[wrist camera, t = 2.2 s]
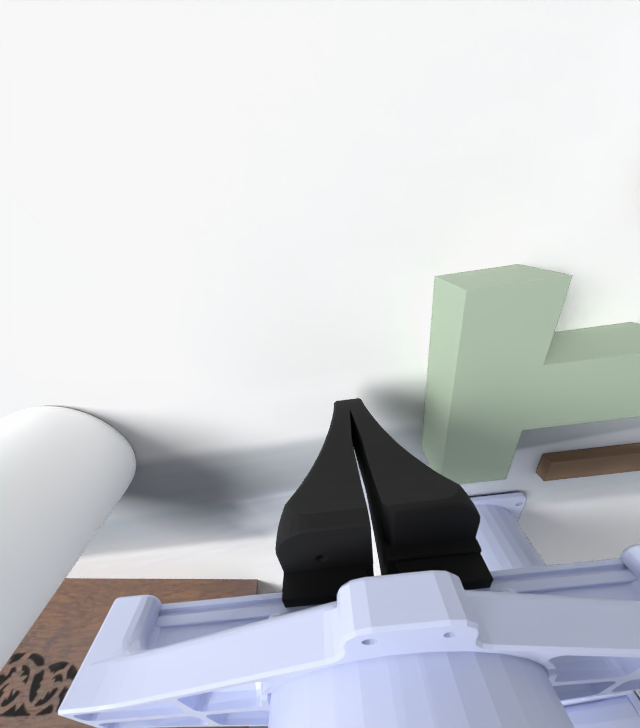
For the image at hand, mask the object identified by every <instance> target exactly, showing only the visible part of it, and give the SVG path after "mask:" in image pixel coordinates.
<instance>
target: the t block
mask: <svg viewBox="0 0 640 728" xmlns="http://www.w3.org/2000/svg"><path fill="white" fill-rule="evenodd" d="M572 276H573V275H569V274H564V273H559V272H554V271H549V270H544V269H539V268H534V267H529V266H524V265H519V264H516V265H509V266H502V267H495V268H488V269H481V270H474V271H468V272H461V273H454V274H447V275H440V276H435V279H434V292H433V305H432V318H431V331H430V344H429V357H428V370H427V384H426V397H425V410H424V423H423V436H422V451H423V453H424V455H425V457H426V459H427V461H428V463H429V465H430V467H431V469H433V470H434V471H436V472H437V473H439V474H441V475H443V476H445V477H446V478H448V479H450V480H452V481H454V482H456V483H457V484H466V483H475V482H484V481H493V480H502V479H506V478H507V475H508V472H509V469H510V466H511V463H512V460H513V457H514V453H515V450H516V447H517V444H518V441H519V438H520V435H521V432H522V430H528V429H537V428H545V427H554V426H562V425H571V424H579V423H588V422H596V421H605V420H613V419H622V418H630V417H639V416H640V325H639V324H636V323H633V322H628V323H620V324H613V325H605V326H598V327H590V328H583V329H575V330H568V331H560V332H554V331H555V328H556V325H557V322H558V319H559V316H560V313H561V309H562V306H563V303H564V300H565V297H566V294H567V291H568V288H569V285H570V282H571V279H572Z"/></svg>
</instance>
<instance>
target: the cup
mask: <svg viewBox="0 0 640 728" xmlns="http://www.w3.org/2000/svg"><path fill="white" fill-rule="evenodd" d="M135 471H136V458H135V454H134V451H133V449H132V447H131V446H130V444H129V443H128V441H127V440H126V439H125V438H124V437H123V436H122V435H121V434H120V433H119V432H118V431H117V430H116V429H114V428H113V427H112V426H110V425H109V424H107V423H105V422H104V421H102V420H100V419H98V418H96V417H94V416H92V415H89V414H87V413H84V412H81V411H78V410H74V409H70V408H65V407H57V406H40V407H32V408H27V409H23V410H19V411H16V412H14V413H11V414H9V415H7V416H5V417H3V418H1V419H0V671H1V670H2V668H3V667H4V666H5V664H6V663H7V661H8V660H9V658H10V657H11V656H12V654H13V653H14V651H15V650H16V648H17V647H18V645H19V644H20V643H21V641H22V640H23V638H24V637H25V635H26V634H27V632H28V631H29V630H30V628H31V627H32V625H33V624H34V622H35V621H36V620H37V618H38V617H39V615H40V614H41V612H42V611H43V609H44V608H45V607H46V605H47V604H48V602H49V601H50V599H51V598H52V596H53V595H54V594H55V592H56V591H57V589H58V588H59V586H60V585H61V584H62V582H63V581H64V579H65V578H66V576H67V575H68V573H69V572H70V571H71V569H72V568H73V566H74V565H75V563H76V562H77V561H78V559H79V558H80V556H81V555H82V553H83V552H84V550H85V549H86V548H87V546H88V545H89V543H90V542H91V540H92V539H93V537H94V536H95V535H96V533H97V532H98V530H99V529H100V527H101V526H102V525H103V523H104V522H105V520H106V519H107V517H108V516H109V514H110V513H111V512H112V510H113V509H114V507H115V506H116V504H117V503H118V502H119V500H120V499H121V497H122V496H123V494H124V493H125V491H126V490H127V488H128V487H129V485H130V483H131V481H132V479H133V477H134V475H135Z"/></svg>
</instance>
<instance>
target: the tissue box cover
mask: <svg viewBox="0 0 640 728" xmlns="http://www.w3.org/2000/svg"><path fill="white" fill-rule="evenodd" d="M137 595H152V596H155V597H157V598H158V599H159V600H160V602H161V603H162V604H170V603H180V602H190V601H200V600H210V599H220V598H230V597H240V596H250V595H258V584H257V580H242V579H74V578H65V579H64V581H63V582H62V584H61V585H60V586H59V588H58V589H57V591H56V592H55V594H54V595H53V596H52V598H51V599H50V601H49V602H48V604H47V605H46V607H45V608H44V609H43V611H42V612H41V614H40V615H39V617H38V618H37V620H36V621H35V622H34V624H33V625H32V627H31V628H30V630H29V631H28V632H27V634H26V635H25V637H24V638H23V640H22V641H21V643H20V644H19V645H18V647H17V648H16V650H15V651H14V653H13V654H12V656H11V657H10V658H9V660H8V661H7V663H6V664H5V666H4V667H3V668H2V670H1V671H0V728H97V727H94V726H91V725H87V724H84V723H81V722H78V721H75V720H72V719H69V718H66V717H63V716H60V715H58V709H59V707H60V705H61V703H62V702H63V700H64V698H65V696H66V694H67V692H68V690H69V688H70V686H71V684H72V682H73V680H74V678H75V676H76V675H77V673H78V671H79V669H80V667H81V665H82V663H83V661H84V659H85V657H86V655H87V653H88V651H89V649H90V647H91V646H92V644H93V642H94V640H95V638H96V636H97V634H98V632H99V630H100V628H101V626H102V624H103V622H104V620H105V618H106V617H107V615H108V613H109V611H110V609H111V607H112V605H113V603H114V601H115V599H117V598H119V597H127V596H137ZM160 728H249V726H217V727H160Z"/></svg>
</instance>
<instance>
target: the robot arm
mask: <svg viewBox="0 0 640 728" xmlns="http://www.w3.org/2000/svg"><path fill="white" fill-rule="evenodd" d="M354 450H355V454H356V457H357V461H358V464H359V468H360V471H361V475H362V478H363V482H364V485H365V489H366V493H367V499H368V504H369V509H370V514H371V520H372V525H373V531H374V536H375V542H376V547H377V553H378V558H379V564H380V570H381V575H382V576H374V573H373V553H372V540H371V526H370V520H369V515H368V510H367V505H366V501H365V497H364V493H363V489H362V485H361V481H360V476H359V472H358V467H357V463H356V458H355V454H354ZM525 502H526V497H525V495H524V494H523V493H520V492H518V493H509V494H500V495H490V496H481V497H472V498H469V496H468V495H467V493H466V492H465V491H464V490H463V488H462V487H461V486H460V485H459V484H457V483H456V482H454V481H452V480H450V479H448V478H446V477H445V476H443V475H441V474H439V473H437V472H436V471H434V470H433V469H431V468H429V467H428V466H426V465H425V464H424V463H422V462H421V461H419V460H418V459H417V458H415V457H414V456H413V455H411V454H410V453H409V452H407V451H406V450H405V449H404V448H403V447H401V446H400V445H399V444H398V443H397V442H396V441H395V440H394V439H393V438H392V437H391V436H390V435H389V434H388V433H387V432H386V431H385V430H384V429H383V428H382V427H381V426H380V425H379V424H378V422H377V421H376V420H375V419H374V418H373V416H372V415H371V414H370V412H369V411H368V410H367V408H366V407H365V405H364V404H363V402H362V400H361V399H359V398H357V399H349V400H342V401H336V402H335V403H334V412H333V417H332V421H331V425H330V428H329V431H328V434H327V437H326V440H325V442H324V445H323V447H322V449H321V451H320V454H319V456H318V458H317V459H316V461H315V463H314V465H313V467H312V468H311V470H310V472H309V473H308V475H307V476H306V478H305V479H304V481H303V482H302V484H301V485H300V487H299V488H298V489H297V491H296V492H295V493H294V494H293V496H292V497H291V498H290V499H289V501H288V502H287V503H286V504H285V507H284V509H283V512H282V515H281V519H280V523H279V527H278V532H277V540H276V555H277V557H278V559H279V562H280V564H281V566H282V569H283V571H284V577H283V590H282V592H279V593H269V594H259V595H250V596H240V597H230V598H220V599H210V600H200V601H190V602H180V603H170V604H162V603H161V602H160V600H159V599H158V598H157V597H155V596H152V595H137V596H127V597H119V598H117V599H115V601H114V603H113V605H112V607H111V609H110V611H109V613H108V615H107V617H106V618H105V620H104V622H103V624H102V626H101V628H100V630H99V632H98V634H97V636H96V638H95V640H94V642H93V644H92V646H91V647H90V649H89V651H88V653H87V655H86V657H85V659H84V661H83V663H82V665H81V667H80V669H79V671H78V673H77V675H76V676H75V678H74V680H73V682H72V684H71V686H70V688H69V690H68V692H67V694H66V696H65V698H64V700H63V702H62V703H61V705H60V707H59V709H58V715H60V716H63V717H66V718H69V719H72V720H75V721H78V722H81V723H84V724H87V725H91V726H94V727H97V728H160V727H217V726H268V728H640V697H639V696H638V695H637V693H636V692H635V690H638V691H639V693H640V544H637V545H633V546H630V547H628V548H627V549H625V550H624V551H623V552H622V554H621V556H620V558H617V559H607V560H598V561H588V562H578V563H568V564H558V565H548V566H546V564H545V563H544V561H543V560H542V558H541V557H540V556H539V554H538V553H537V551H536V550H535V548H534V547H533V545H532V544H531V542H530V541H529V539H528V538H527V537H526V535H525V534H524V532H523V531H522V529H521V528H520V526H519V525H518V523H517V521H518V519H519V516H520V514H521V511H522V509H523V507H524V504H525Z"/></svg>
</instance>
